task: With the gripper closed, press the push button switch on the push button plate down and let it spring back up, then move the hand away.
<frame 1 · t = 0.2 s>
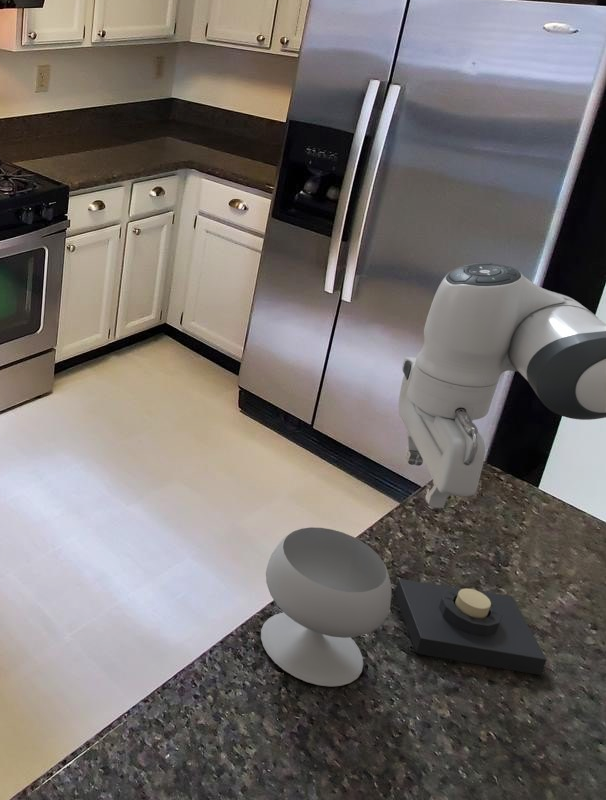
hand: (423, 482, 104), 18 cm above the countertop, tool pointing down, fingers open, 8 cm apart
chalice: (310, 650, 102), on the countertop
push button switch: (472, 603, 103), point 5 cm above the countertop, slide at 0.1 cm
push button plate: (462, 631, 105), on the countertop
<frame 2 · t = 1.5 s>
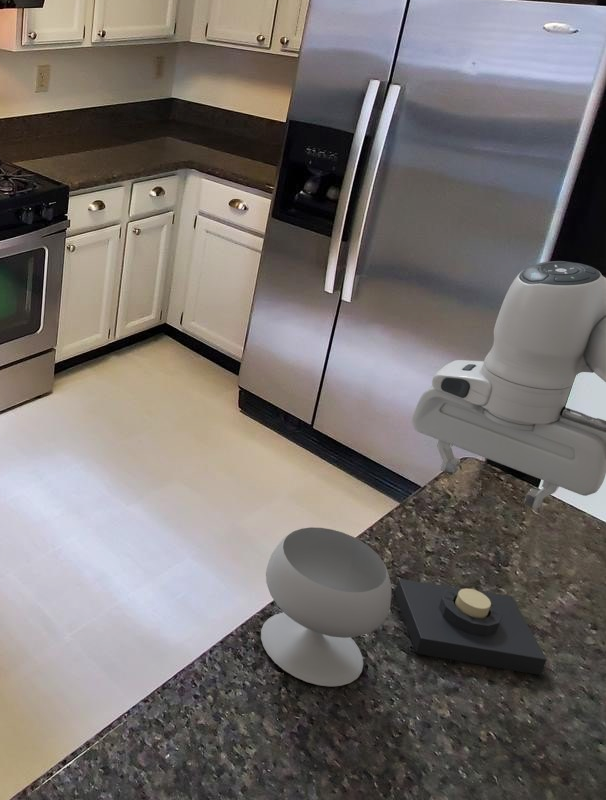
hand: (488, 487, 101), 20 cm above the countertop, tool pointing down, fingers open, 8 cm apart
nothing on the countertop moved.
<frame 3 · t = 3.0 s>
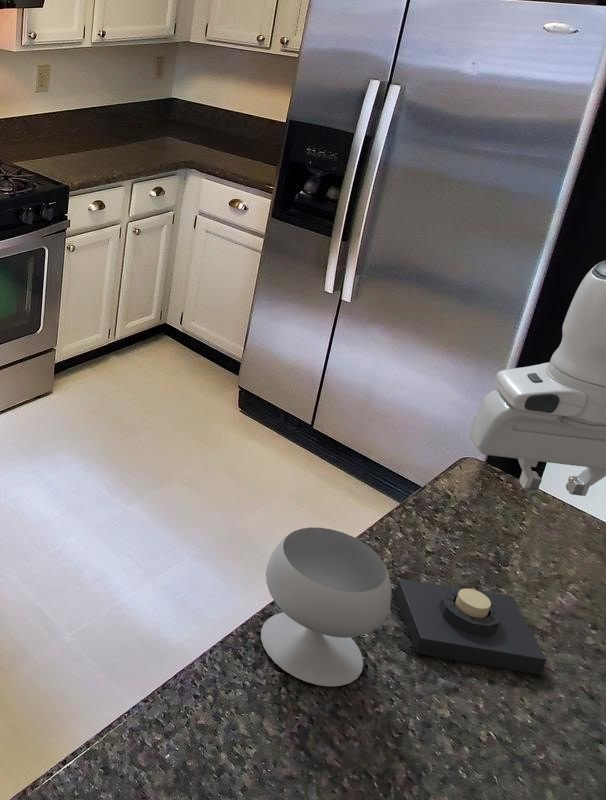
hand: (551, 489, 98), 21 cm above the countertop, tool pointing down, fingers open, 4 cm apart
nothing on the countertop moved.
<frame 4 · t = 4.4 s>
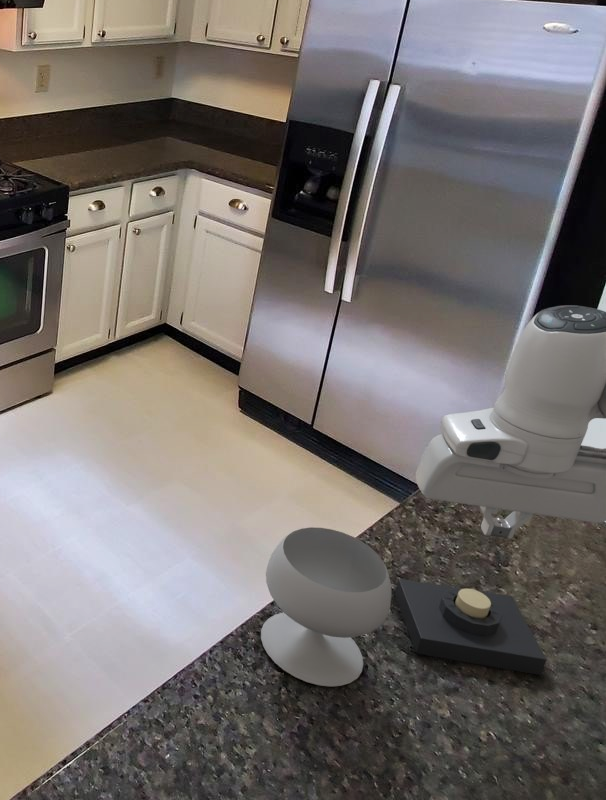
hand: (495, 533, 98), 16 cm above the countertop, tool pointing down, fingers closed
nothing on the countertop moved.
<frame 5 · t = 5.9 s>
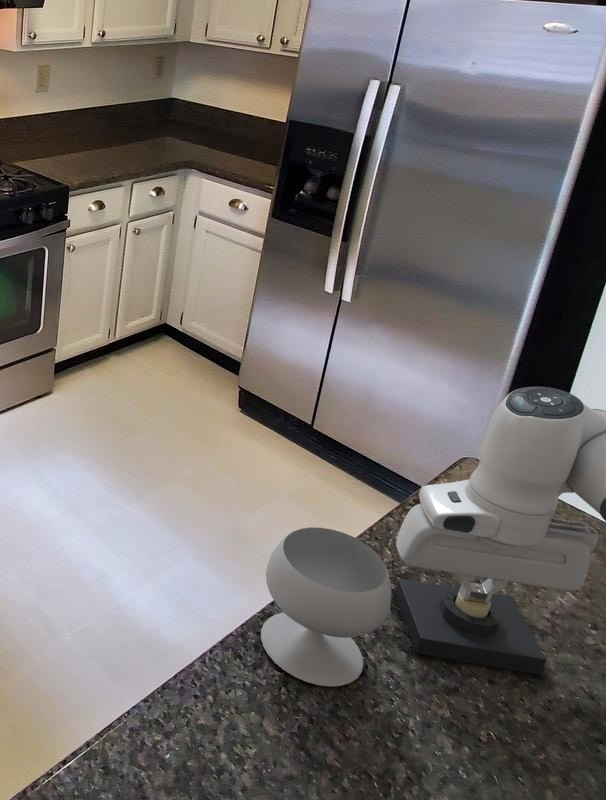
hand: (473, 598, 103), 6 cm above the countertop, tool pointing down, fingers closed, pressing on push button switch
push button switch: (472, 604, 103), point 5 cm above the countertop, slide at 0.0 cm, touching gripper
everything else where it was.
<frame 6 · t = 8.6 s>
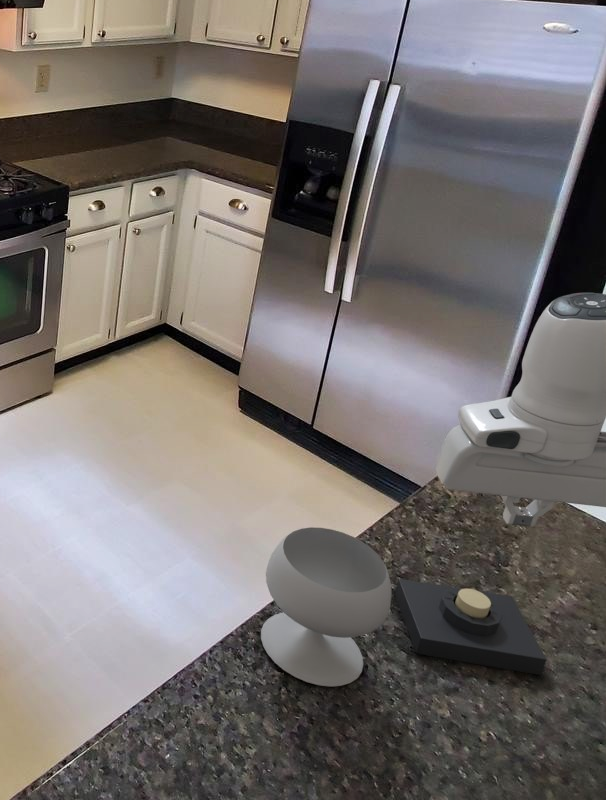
hand: (517, 522, 98), 17 cm above the countertop, tool pointing down, fingers closed
push button switch: (472, 603, 103), point 5 cm above the countertop, slide at 0.1 cm
everything else where it was.
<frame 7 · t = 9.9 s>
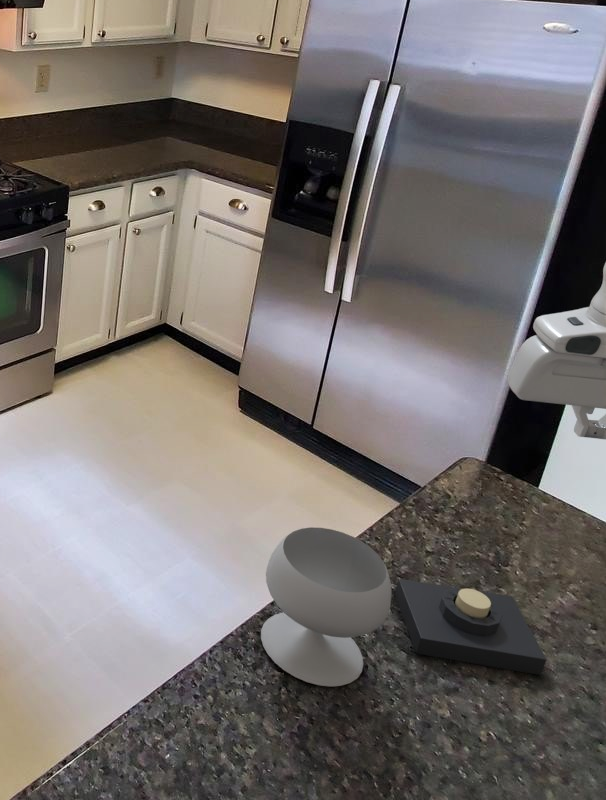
hand: (589, 435, 98), 27 cm above the countertop, tool pointing down, fingers closed
nothing on the countertop moved.
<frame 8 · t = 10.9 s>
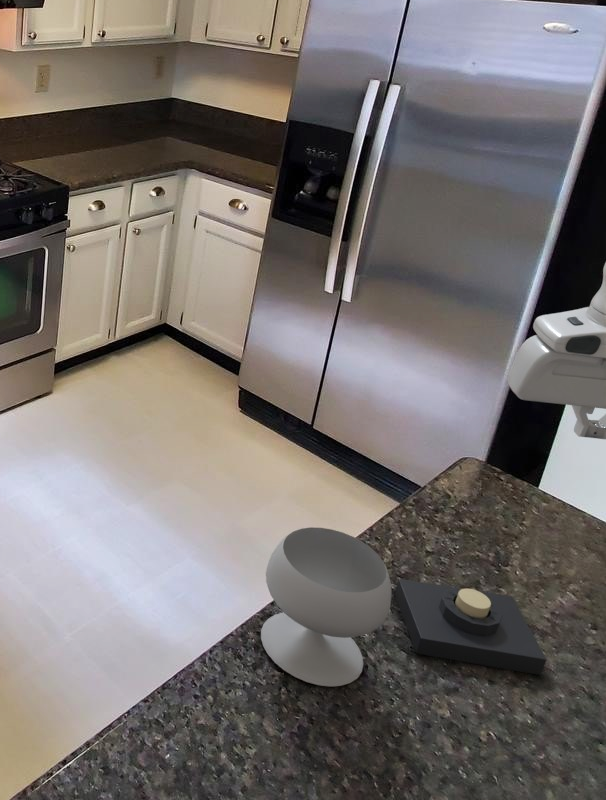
hand: (589, 435, 98), 27 cm above the countertop, tool pointing down, fingers closed
nothing on the countertop moved.
at the end: push button switch pushed in 1.0 cm at the most during the clip, back to where it started at the end; push button switch slide at 0.1 cm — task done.
